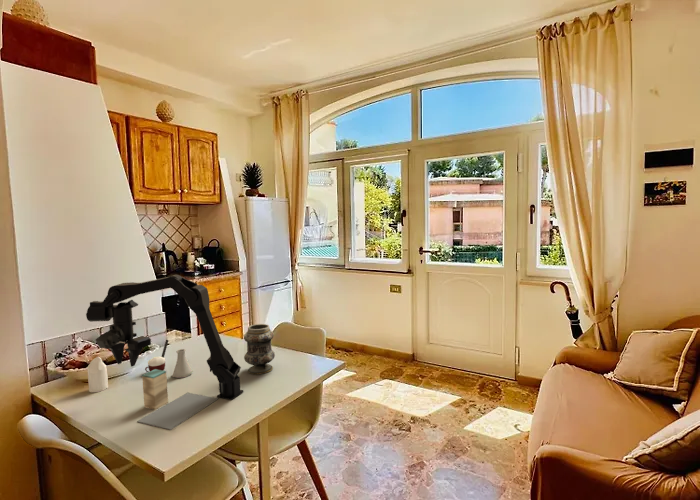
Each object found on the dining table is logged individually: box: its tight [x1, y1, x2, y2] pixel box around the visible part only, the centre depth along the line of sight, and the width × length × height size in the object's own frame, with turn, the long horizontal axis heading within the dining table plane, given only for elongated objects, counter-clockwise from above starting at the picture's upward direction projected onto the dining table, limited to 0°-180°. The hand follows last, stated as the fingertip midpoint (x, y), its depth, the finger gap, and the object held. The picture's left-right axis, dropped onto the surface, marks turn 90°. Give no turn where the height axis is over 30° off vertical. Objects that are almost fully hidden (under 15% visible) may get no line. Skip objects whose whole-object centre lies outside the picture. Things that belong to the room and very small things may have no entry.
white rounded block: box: [86, 356, 109, 393], centre depth 138 cm, size 6×12×6 cm
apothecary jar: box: [243, 323, 276, 375], centre depth 152 cm, size 12×12×18 cm
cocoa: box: [144, 339, 169, 373], centre depth 153 cm, size 10×6×12 cm, turn 119°
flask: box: [171, 348, 194, 379], centre depth 149 cm, size 7×7×10 cm
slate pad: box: [136, 391, 219, 431], centre depth 122 cm, size 14×20×1 cm
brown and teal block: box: [141, 369, 169, 411], centre depth 125 cm, size 5×5×11 cm
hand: (126, 365), depth 129 cm, fingers open, 6 cm apart
